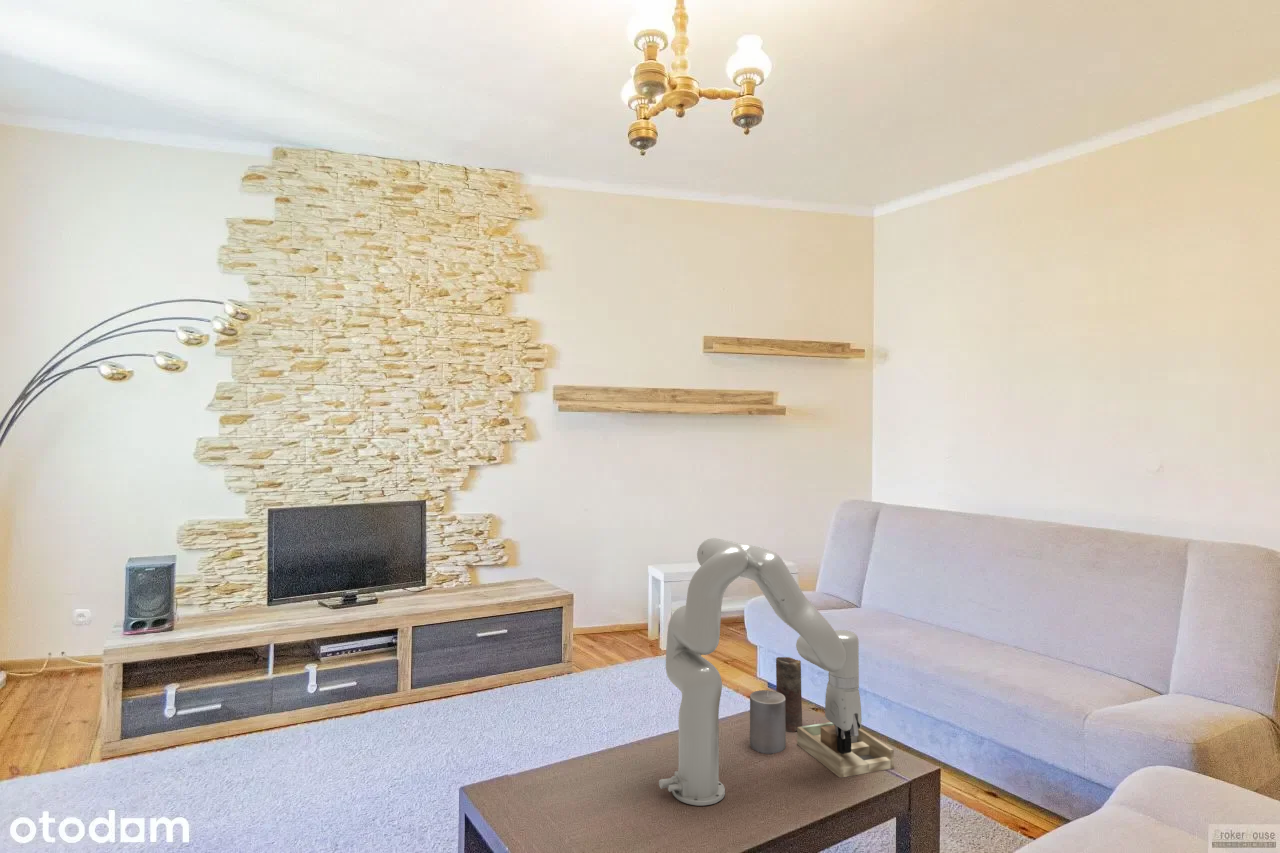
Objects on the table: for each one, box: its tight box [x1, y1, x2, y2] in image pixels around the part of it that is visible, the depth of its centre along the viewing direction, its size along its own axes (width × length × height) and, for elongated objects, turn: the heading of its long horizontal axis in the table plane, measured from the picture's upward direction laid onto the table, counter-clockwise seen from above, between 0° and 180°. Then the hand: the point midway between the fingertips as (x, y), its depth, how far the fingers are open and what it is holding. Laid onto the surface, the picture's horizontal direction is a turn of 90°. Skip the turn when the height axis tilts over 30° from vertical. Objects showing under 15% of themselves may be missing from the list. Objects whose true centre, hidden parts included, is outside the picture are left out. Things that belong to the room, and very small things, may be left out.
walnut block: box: [821, 725, 840, 753], centre depth 187 cm, size 5×5×5 cm
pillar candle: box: [749, 689, 787, 755], centre depth 194 cm, size 10×10×15 cm
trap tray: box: [796, 721, 895, 779], centre depth 188 cm, size 16×20×5 cm
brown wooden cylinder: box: [775, 656, 803, 733], centre depth 207 cm, size 8×7×20 cm
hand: (844, 751), depth 182 cm, fingers closed
